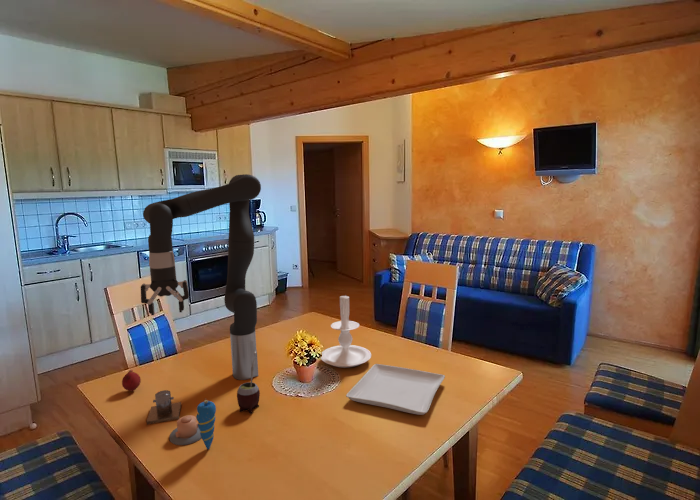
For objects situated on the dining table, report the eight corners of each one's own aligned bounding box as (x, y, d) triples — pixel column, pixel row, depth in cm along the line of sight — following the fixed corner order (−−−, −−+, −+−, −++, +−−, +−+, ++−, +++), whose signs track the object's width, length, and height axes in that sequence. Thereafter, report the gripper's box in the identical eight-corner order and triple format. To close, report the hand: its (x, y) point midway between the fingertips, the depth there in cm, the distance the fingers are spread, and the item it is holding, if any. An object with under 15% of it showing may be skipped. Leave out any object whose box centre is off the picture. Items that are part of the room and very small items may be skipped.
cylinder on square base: (181, 404, 138) (179, 384, 137) (178, 419, 129) (176, 398, 128) (151, 409, 135) (149, 389, 134) (146, 424, 127) (144, 403, 125)
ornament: (202, 443, 117) (197, 394, 114) (220, 442, 117) (216, 392, 115) (196, 455, 112) (192, 403, 109) (216, 454, 112) (212, 402, 110)
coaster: (206, 422, 127) (206, 420, 127) (205, 441, 118) (205, 439, 118) (171, 428, 124) (171, 426, 124) (167, 448, 115) (167, 446, 115)
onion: (133, 396, 144) (131, 374, 143) (119, 394, 145) (116, 373, 144) (145, 387, 150) (142, 367, 148) (131, 386, 151) (128, 365, 149)
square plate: (445, 383, 149) (445, 373, 149) (426, 424, 125) (426, 412, 124) (375, 370, 160) (375, 361, 160) (344, 405, 136) (344, 394, 135)
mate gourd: (240, 417, 130) (237, 372, 127) (235, 405, 137) (232, 362, 134) (264, 410, 133) (261, 366, 131) (257, 399, 140) (255, 357, 138)
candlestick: (370, 347, 182) (370, 285, 177) (371, 373, 157) (371, 302, 153) (323, 348, 182) (322, 286, 178) (317, 373, 158) (315, 302, 153)
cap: (202, 431, 122) (201, 416, 121) (181, 441, 117) (179, 426, 116) (193, 424, 125) (192, 410, 124) (172, 434, 120) (170, 420, 119)
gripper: (186, 261, 140) (190, 307, 143) (140, 264, 136) (145, 312, 139) (185, 265, 133) (189, 314, 136) (135, 269, 129) (141, 319, 132)
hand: (167, 313), depth 137 cm, fingers open, 8 cm apart
